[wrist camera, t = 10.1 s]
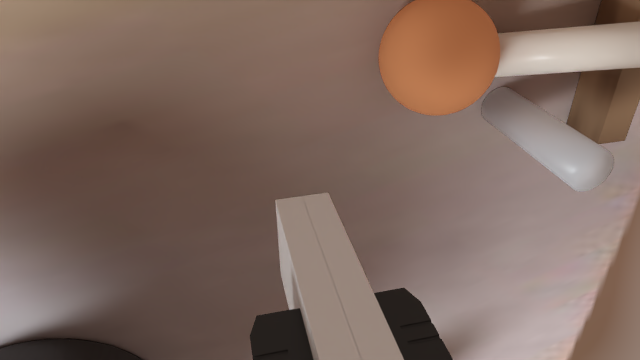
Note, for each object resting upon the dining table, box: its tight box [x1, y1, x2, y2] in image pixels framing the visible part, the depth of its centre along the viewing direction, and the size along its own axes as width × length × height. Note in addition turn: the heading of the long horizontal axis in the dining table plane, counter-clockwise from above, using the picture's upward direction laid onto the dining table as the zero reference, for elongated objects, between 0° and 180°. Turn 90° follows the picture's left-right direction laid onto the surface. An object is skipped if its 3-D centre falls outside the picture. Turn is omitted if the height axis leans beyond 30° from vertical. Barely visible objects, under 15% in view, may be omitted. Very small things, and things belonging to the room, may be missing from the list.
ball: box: [379, 0, 500, 115], centre depth 25 cm, size 6×6×6 cm
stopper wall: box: [567, 0, 640, 144], centre depth 29 cm, size 11×2×3 cm, turn 0°
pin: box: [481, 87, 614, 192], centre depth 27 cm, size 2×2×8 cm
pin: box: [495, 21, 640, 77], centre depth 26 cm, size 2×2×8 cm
